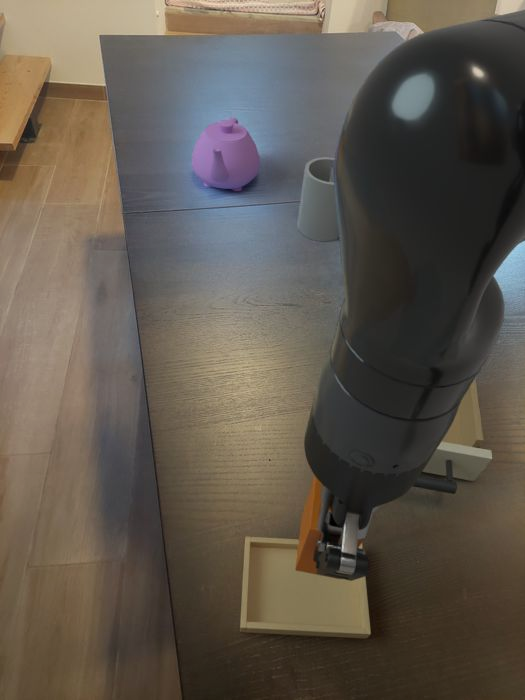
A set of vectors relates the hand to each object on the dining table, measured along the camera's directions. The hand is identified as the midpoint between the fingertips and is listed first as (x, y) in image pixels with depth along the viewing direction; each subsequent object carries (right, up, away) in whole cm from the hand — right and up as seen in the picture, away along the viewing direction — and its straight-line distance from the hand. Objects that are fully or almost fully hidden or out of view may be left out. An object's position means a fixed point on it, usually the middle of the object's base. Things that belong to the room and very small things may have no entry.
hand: (329, 525), depth 42 cm
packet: (0, -3, +4) cm, 5 cm away
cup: (+6, +38, +57) cm, 69 cm away
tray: (-1, -12, +13) cm, 18 cm away
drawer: (+16, +4, +27) cm, 31 cm away
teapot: (-14, +50, +66) cm, 84 cm away
